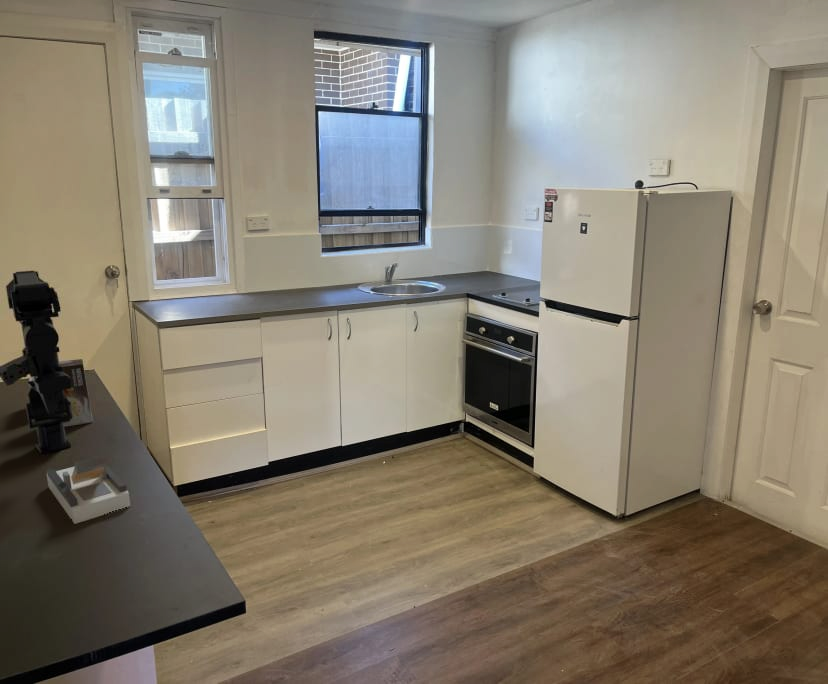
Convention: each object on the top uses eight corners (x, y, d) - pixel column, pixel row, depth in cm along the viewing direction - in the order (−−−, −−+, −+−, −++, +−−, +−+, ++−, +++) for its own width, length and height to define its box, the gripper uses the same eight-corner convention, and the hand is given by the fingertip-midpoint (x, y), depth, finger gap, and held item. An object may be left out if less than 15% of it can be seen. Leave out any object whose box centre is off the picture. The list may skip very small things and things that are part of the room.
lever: (70, 477, 129) (75, 462, 124) (98, 469, 133) (104, 454, 127) (72, 485, 129) (77, 471, 123) (101, 477, 132) (107, 463, 126)
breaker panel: (48, 487, 136) (44, 460, 135) (99, 473, 143) (96, 447, 141) (74, 523, 122) (70, 494, 120) (130, 506, 128) (126, 477, 126)
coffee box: (91, 415, 178) (83, 358, 174) (92, 422, 173) (84, 363, 169) (53, 421, 174) (44, 362, 170) (53, 429, 168) (43, 368, 165)
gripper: (-13, 341, 140) (0, 411, 144) (4, 358, 126) (17, 435, 130) (46, 333, 147) (56, 399, 151) (68, 348, 133) (78, 421, 137)
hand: (51, 413), depth 142 cm, fingers closed
